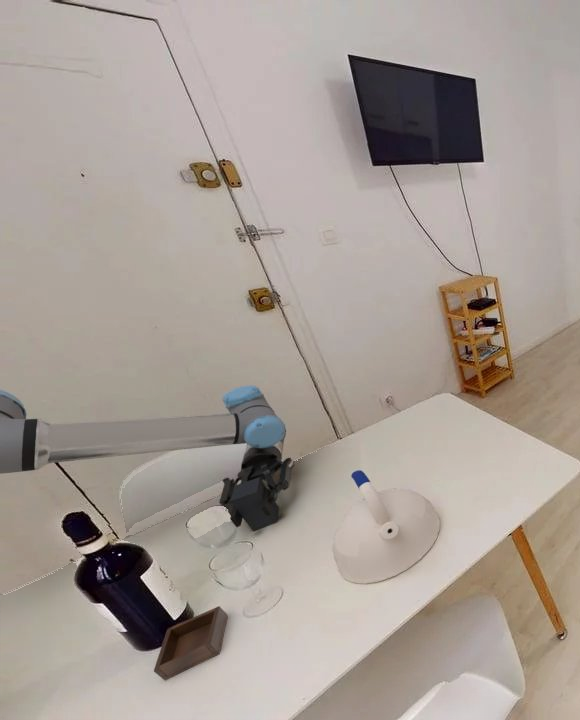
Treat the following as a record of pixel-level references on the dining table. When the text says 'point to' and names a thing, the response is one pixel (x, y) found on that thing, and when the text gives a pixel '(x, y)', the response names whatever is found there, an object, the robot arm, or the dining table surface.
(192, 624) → the tray
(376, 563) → the white plastic funnel
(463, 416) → the dining table surface
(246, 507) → the dark gray block
